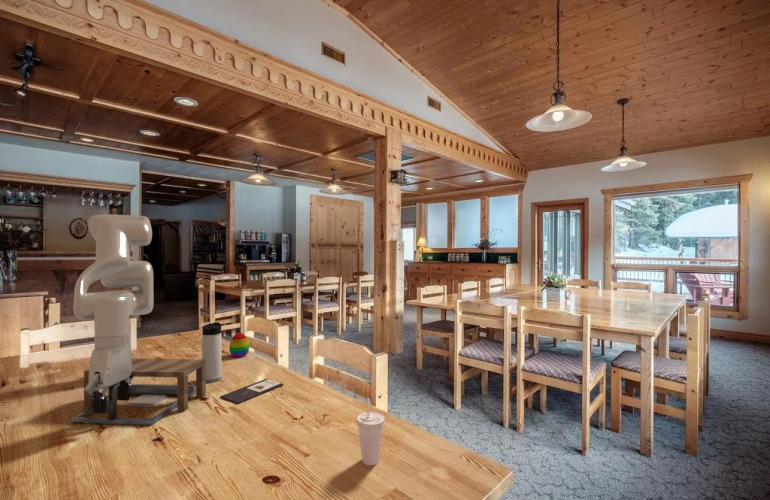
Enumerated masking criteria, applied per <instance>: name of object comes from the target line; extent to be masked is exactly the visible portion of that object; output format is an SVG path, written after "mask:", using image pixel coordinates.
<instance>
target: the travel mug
mask: <svg viewBox="0 0 770 500" xmlns="http://www.w3.org/2000/svg"><path fill="white" fill-rule="evenodd" d="M201 329H202V334H201V335H202V337H201V339H202V340H201V341H202V342H201V343H202V345H201V348H202V351H201V352H202V353H201V358H202V359H201V360H206V383H215V382H218V381H220V380H221V379H222V370H223V369H222V366H223V365H222V323H220V322H219V321H217V322H216V321H214V322H212V323H207V324H205V325H202V328H201Z"/></svg>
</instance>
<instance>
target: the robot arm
mask: <svg viewBox="0 0 770 500" xmlns="http://www.w3.org/2000/svg"><path fill="white" fill-rule="evenodd" d="M88 229H89V231H90V234H91V236H92V238H93V239H94V241H95V243H96V244H95V245H96V246H95V261H94V262H93V263H92V264H91V265H89V266H88V267H87V268H86V269H85V270H83V271H82V272H81V274H80V276H78V278H77V280H76V283H75V286H74V294H73V305H72V306H73V314H74V316H75V318H76V319H78V320H81V321H92V320H94V321H93V322H94V326H93V327H94V331H93V332H94V349H92V351H91V355H90V360H89V366H88V369H89V383H88V385H87V386H86V387H85V391H86V392H87V393H88V394H89V396H91V398H92V399H94V414H96V415H97V414H99V415H100V414H101V415H104V414H105V415H106V414H108V405H107V399H108V397H106V395H107V394H108V387H110V386H112V385H114V384H116V383H119V385H120V386H117V401H121V402H123V401H126V402H127V401H131V400H130V399H131V394H130V386H129V385H131V384H133V383H132V379H133V378H134V377H133V374H134V372H135V370H136V367H135V366H133V365H132V359H133V357H132V327H131V326H130V317H132V316H133V317H134V316H141V315H143V316H144V315H147V314H150V313H152V311H153V310H154V298H155V297H154V269H153V266H152V264H151V262H148V261H147V260H131V247H133V246H134V247H136V246H137V247H138V246H139V247H140V246H142V247H144V246H149V245H151V244H150V243H151V242H152V238H153V230H152V229H153V228H152V225H151V220H150V219H149V218H148V217H147V216H145V215H133V214H132V215H131V214H129V215H128V214H110V213H109V214H108V213H107V214H105V213H103V214H95V215H92V216H91V217H89V219H88ZM130 246H131V247H130ZM99 280H100V283H101V285H102V286H103V287H105V288H132V287H133V288H134V287H136V288H138V289H125V290H124V289H122V290H108V291H99V292H98V291H97V292H88V290H89V288H90V286H91V285H93V284H94V283H96V282H98V281H99ZM100 389H101V390H100ZM100 391H101V392H100Z"/></svg>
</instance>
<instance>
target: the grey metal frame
mask: <svg viewBox="0 0 770 500" xmlns="http://www.w3.org/2000/svg"><path fill="white" fill-rule="evenodd" d="M129 386H130V395H132V394H133V395H176V396H177V384H153V383H147V384H146V383H131V385H129ZM194 395H196V384H188V399H190V398H191V397H192V396H194ZM176 408H177V400H176V401H175V402H173V403H172V404H170V405H169V406H167V407H166V408H164V409H163V410H162V411H160V412H159V413H157V414H156V415H154V416H153V417H152V418H136V417H135V418H132V417H130V418H126V417H125V418H124V417H123V418H122V417H118V400H117V383H116V384H114V385H112V386H110V387H108V390H107V417H91V416H90V415H92V414H93V413H94V407H92V408H90V409H88V410H85V411H83V412H81V413H79V414H77V415H76V416H73V417H71V422H88V423H87V424H97V423H100V424H101V425H102V424H104V425H105V424H107V425H140V426H141V425H144V426H145V425H146V426H147V425H154V424H155V423H156V422H158V421H159V420H161V419H162V418H164V416H166V415H168V414H169V413H170V412H172V411H173V410H175V409H176ZM94 414H95V413H94ZM85 416H86V417H85ZM88 416H90V417H88Z"/></svg>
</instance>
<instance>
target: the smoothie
mask: <svg viewBox="0 0 770 500" xmlns="http://www.w3.org/2000/svg"><path fill="white" fill-rule="evenodd" d="M370 406H371V405H370V398H366V412H362V413H360V414H358V416H356V422H355V423H356V425H357V427H358V437H359V443H360V453H361V459H362V460H361V461H362V464H364V465H366V466H375V465H377V464H379V462H380V453H381V446H382V437H383V430H384V425H385V423H386V420H385V419H386V418H385V416H384V415H383V414H382V413H379V412H375V411H370Z"/></svg>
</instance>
